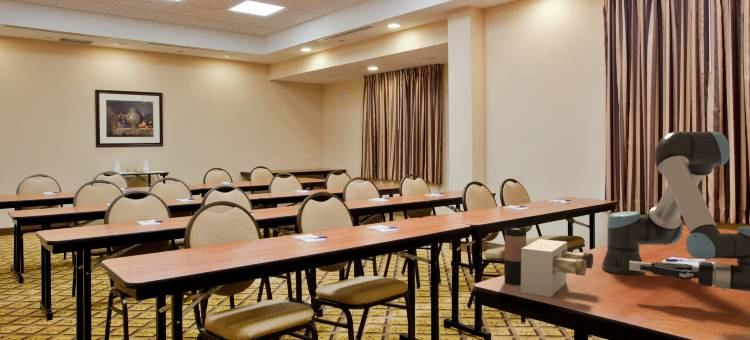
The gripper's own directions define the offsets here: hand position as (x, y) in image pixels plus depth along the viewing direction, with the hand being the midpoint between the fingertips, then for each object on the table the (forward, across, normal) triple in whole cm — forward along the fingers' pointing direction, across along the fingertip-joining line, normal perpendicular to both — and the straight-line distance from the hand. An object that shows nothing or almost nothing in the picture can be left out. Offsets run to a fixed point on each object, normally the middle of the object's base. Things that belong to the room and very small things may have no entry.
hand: (629, 265), depth 177 cm
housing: (+26, -6, -10) cm, 29 cm away
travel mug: (+37, -6, -10) cm, 39 cm away
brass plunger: (+19, -12, -3) cm, 22 cm away
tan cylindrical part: (+19, 0, -3) cm, 19 cm away
